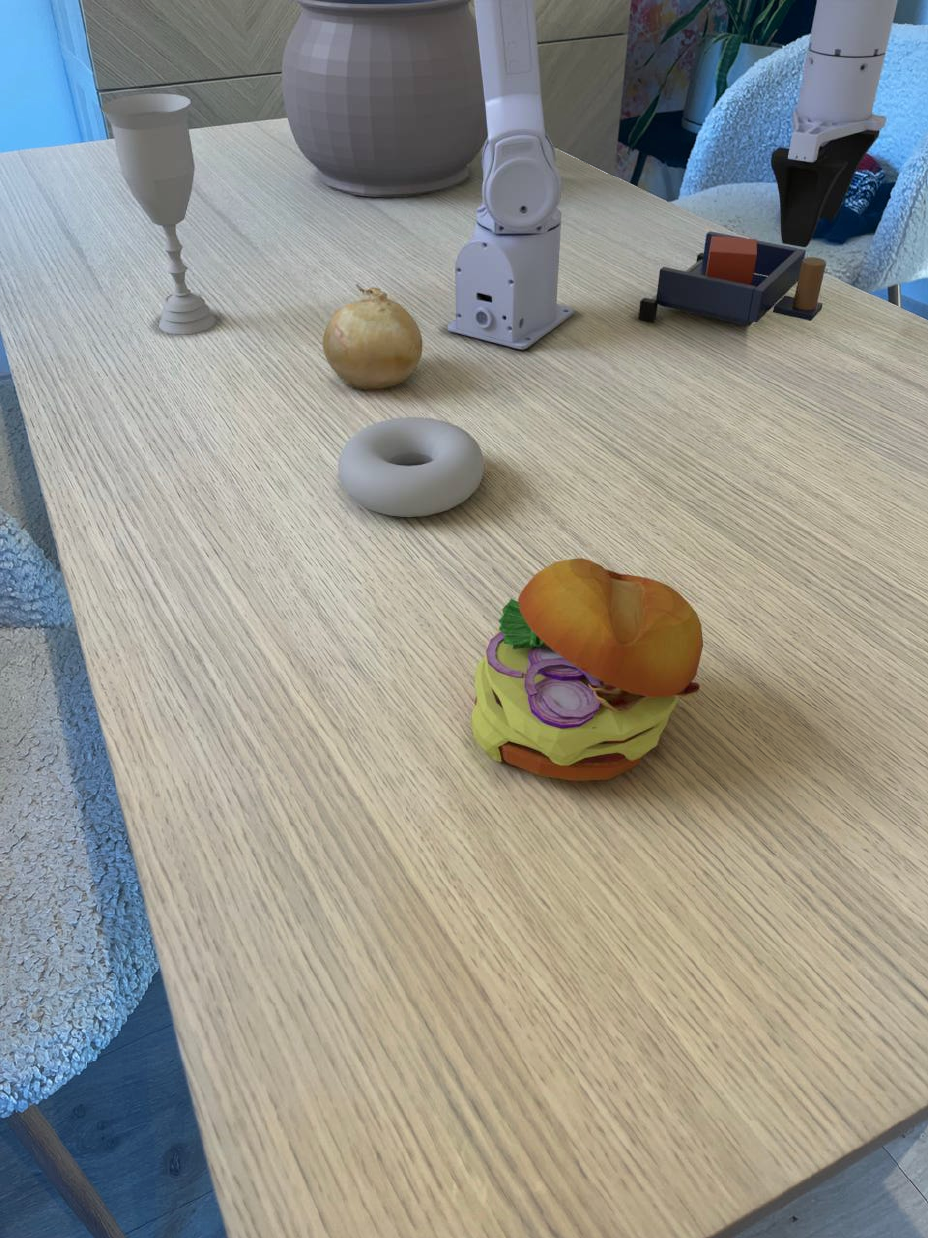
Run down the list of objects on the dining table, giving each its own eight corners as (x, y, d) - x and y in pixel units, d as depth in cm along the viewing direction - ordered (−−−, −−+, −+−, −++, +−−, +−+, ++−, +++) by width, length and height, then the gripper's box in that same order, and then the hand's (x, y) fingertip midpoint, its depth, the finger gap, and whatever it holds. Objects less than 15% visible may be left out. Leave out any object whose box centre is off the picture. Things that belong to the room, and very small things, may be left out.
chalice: (206, 342, 88) (166, 117, 76) (134, 336, 89) (84, 113, 78) (237, 309, 94) (204, 95, 82) (169, 303, 95) (127, 91, 83)
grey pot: (263, 164, 129) (240, -18, 117) (437, 138, 138) (433, -33, 126) (338, 221, 112) (321, 16, 100) (531, 187, 121) (538, -5, 109)
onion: (443, 379, 82) (442, 294, 78) (365, 410, 78) (358, 323, 74) (383, 348, 87) (378, 266, 82) (306, 376, 83) (297, 291, 78)
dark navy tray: (697, 266, 99) (705, 216, 96) (835, 295, 93) (848, 242, 90) (646, 307, 91) (652, 254, 88) (794, 341, 86) (806, 286, 83)
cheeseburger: (429, 688, 54) (468, 526, 49) (595, 670, 59) (647, 521, 53) (513, 824, 47) (570, 650, 41) (694, 790, 51) (767, 631, 46)
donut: (309, 496, 69) (423, 544, 64) (303, 451, 67) (420, 498, 62) (403, 437, 75) (513, 477, 70) (400, 395, 73) (513, 433, 68)
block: (748, 298, 91) (756, 254, 88) (703, 295, 91) (710, 250, 89) (748, 282, 94) (756, 238, 91) (705, 278, 94) (711, 235, 92)
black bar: (698, 270, 100) (700, 252, 99) (711, 272, 100) (714, 254, 99) (637, 319, 91) (639, 300, 90) (652, 322, 91) (654, 303, 90)
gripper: (874, 73, 71) (831, 266, 80) (922, 38, 80) (879, 214, 89) (776, 63, 74) (745, 249, 82) (834, 30, 83) (800, 201, 92)
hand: (809, 230), depth 86 cm, fingers open, 7 cm apart
